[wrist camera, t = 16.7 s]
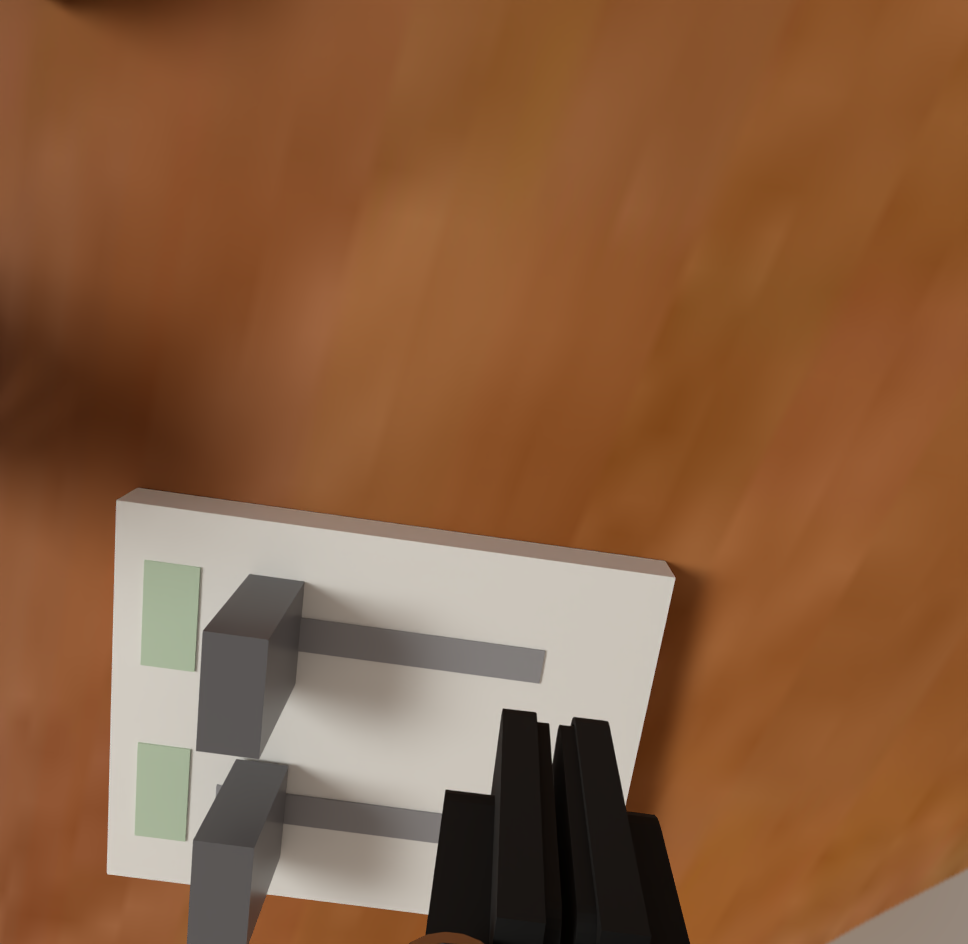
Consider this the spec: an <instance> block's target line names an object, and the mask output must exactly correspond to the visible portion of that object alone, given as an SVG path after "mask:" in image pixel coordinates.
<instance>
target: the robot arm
mask: <svg viewBox="0 0 968 944" xmlns="http://www.w3.org/2000/svg"><path fill="white" fill-rule="evenodd" d="M409 944H690V942H689V938H688V934H687V930H686V926H685V922H684V918H683V914H682V910H681V906H680V902H679V898H678V894H677V890H676V886H675V882H674V878H673V874H672V871H671V867H670V863H669V859H668V855H667V851H666V847H665V843H664V839H663V835H662V831H661V827H660V824H659V821H658V818H657V817H656V816H655V815H651V814H643V813H635V812H627V811H626V806H625V801H624V796H623V791H622V786H621V781H620V776H619V771H618V766H617V761H616V756H615V751H614V745H613V740H612V735H611V730H610V725H609V722H608V721H604V720H596V719H588V718H580V717H573V718H572V721H571V726H567V725H559V727H558V731H557V737H556V743H555V750H554V756H553V763H552V754H551V739H550V726H549V723H542V722H537V713H536V712H530V711H522V710H513V709H505V708H503V709H502V714H501V721H500V729H499V736H498V744H497V751H496V759H495V766H494V774H493V781H492V789H491V795H487V794H479V793H471V792H463V791H455V790H445V796H444V803H443V811H442V818H441V825H440V833H439V840H438V847H437V854H436V862H435V869H434V876H433V884H432V891H431V898H430V906H429V913H428V920H427V928H426V935H425V936H423V937H421V938H418V939H416V940H414V941H412V942H410V943H409Z"/></svg>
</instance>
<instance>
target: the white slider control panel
mask: <svg viewBox="0 0 968 944" xmlns="http://www.w3.org/2000/svg"><path fill="white" fill-rule="evenodd" d="M674 583H675V576H674V574H673V573H672V571H671V569H670V568H669V566H668V565H667V563H666V561H662V560H654V559H647V558H640V557H633V556H626V555H618V554H611V553H604V552H597V551H590V550H583V549H575V548H568V547H561V546H554V545H547V544H539V543H532V542H525V541H518V540H511V539H503V538H496V537H489V536H482V535H475V534H467V533H460V532H453V531H446V530H439V529H432V528H424V527H417V526H410V525H403V524H396V523H388V522H381V521H374V520H367V519H360V518H352V517H345V516H338V515H331V514H324V513H316V512H309V511H302V510H295V509H288V508H281V507H273V506H266V505H259V504H252V503H245V502H237V501H230V500H223V499H216V498H209V497H201V496H194V495H187V494H180V493H173V492H165V491H158V490H151V489H144V488H136V489H134V490H133V491H131V492H129V493H128V494H126V495H124V496H123V497H121V498H119V499H117V500H116V531H115V571H114V611H113V651H112V691H111V731H110V771H109V811H108V852H107V874H111V875H119V876H127V877H135V878H143V879H151V880H159V881H167V882H175V883H182V884H190V883H191V865H192V848H193V839H194V837H195V836H196V834H197V832H198V830H199V828H200V826H201V824H202V822H203V820H204V819H205V817H206V815H207V813H208V811H209V809H210V807H211V805H212V804H213V802H214V800H215V798H216V796H217V794H218V792H219V790H220V789H221V787H222V785H223V783H224V781H225V779H226V777H227V775H228V773H229V772H230V770H231V768H232V766H233V764H234V762H235V760H236V759H240V760H248V761H255V762H263V763H271V764H278V765H286V766H288V777H287V788H286V799H285V810H284V821H283V832H282V843H281V854H280V859H279V862H278V864H277V867H276V870H275V873H274V875H273V878H272V881H271V884H270V886H269V889H268V892H267V894H270V895H278V896H286V897H294V898H301V899H309V900H317V901H325V902H333V903H341V904H349V905H357V906H365V907H373V908H381V909H389V910H397V911H405V912H413V913H421V914H428V913H429V906H430V898H431V891H432V884H433V876H434V869H435V862H436V854H437V847H438V840H439V833H440V825H441V818H442V811H443V803H444V796H445V790H455V791H463V792H471V793H479V794H487V795H491V789H492V781H493V774H494V766H495V759H496V751H497V744H498V736H499V729H500V721H501V714H502V709H503V708H505V709H513V710H522V711H530V712H536V713H537V722H542V723H549V726H550V739H551V754H552V763H553V756H554V750H555V743H556V737H557V731H558V727H559V725H567V726H571V721H572V718H573V717H580V718H588V719H596V720H604V721H608V722H609V725H610V730H611V735H612V740H613V745H614V751H615V756H616V761H617V766H618V771H619V776H620V781H621V786H622V791H623V796H624V801H625V806H626V801H627V797H628V792H629V787H630V783H631V778H632V774H633V769H634V765H635V760H636V756H637V751H638V746H639V742H640V737H641V733H642V728H643V724H644V719H645V715H646V710H647V706H648V701H649V696H650V692H651V687H652V683H653V678H654V674H655V669H656V665H657V660H658V655H659V651H660V646H661V642H662V637H663V633H664V628H665V624H666V619H667V615H668V610H669V605H670V601H671V596H672V592H673V587H674Z"/></svg>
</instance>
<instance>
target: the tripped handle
mask: <svg viewBox="0 0 968 944" xmlns="http://www.w3.org/2000/svg"><path fill="white" fill-rule="evenodd" d="M287 777H288V766H286V765H278V764H271V763H263V762H255V761H248V760H240V759H236V760H235V762H234V764H233V766H232V768H231V770H230V772H229V773H228V775H227V777H226V779H225V781H224V783H223V785H222V787H221V789H220V790H219V792H218V794H217V796H216V798H215V800H214V802H213V804H212V805H211V807H210V809H209V811H208V813H207V815H206V817H205V819H204V820H203V822H202V824H201V826H200V828H199V830H198V832H197V834H196V836H195V837H194V839H193V848H192V865H191V883H190V900H189V918H188V935H187V944H249V941H250V938H251V936H252V933H253V930H254V927H255V925H256V922H257V919H258V916H259V914H260V911H261V908H262V905H263V903H264V900H265V897H266V895H267V892H268V889H269V886H270V884H271V881H272V878H273V875H274V873H275V870H276V867H277V864H278V862H279V859H280V854H281V843H282V832H283V821H284V810H285V799H286V788H287Z"/></svg>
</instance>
